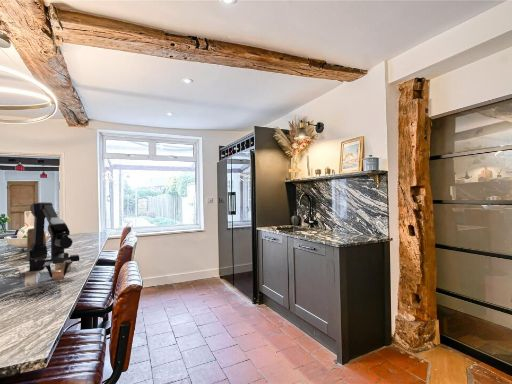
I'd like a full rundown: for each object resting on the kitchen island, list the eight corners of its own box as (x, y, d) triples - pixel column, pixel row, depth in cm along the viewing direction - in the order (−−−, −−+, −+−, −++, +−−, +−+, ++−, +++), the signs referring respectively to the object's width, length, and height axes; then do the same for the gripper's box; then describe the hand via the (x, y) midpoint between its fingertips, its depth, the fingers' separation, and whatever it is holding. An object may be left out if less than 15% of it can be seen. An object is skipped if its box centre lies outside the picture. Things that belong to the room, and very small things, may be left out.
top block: (56, 265, 157) (56, 258, 157) (56, 263, 161) (56, 256, 161) (69, 263, 160) (69, 256, 160) (68, 261, 165) (68, 254, 165)
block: (26, 257, 197) (26, 229, 197) (28, 255, 204) (27, 228, 204) (46, 255, 203) (45, 227, 203) (46, 253, 210) (46, 226, 210)
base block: (55, 273, 156) (55, 265, 156) (55, 270, 161) (55, 263, 161) (70, 270, 160) (70, 263, 160) (69, 268, 166) (69, 261, 166)
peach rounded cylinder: (52, 280, 143) (51, 273, 143) (51, 278, 147) (51, 270, 147) (64, 278, 147) (64, 271, 147) (63, 276, 151) (63, 269, 151)
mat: (49, 276, 152) (49, 275, 152) (48, 271, 162) (48, 270, 162) (77, 271, 160) (77, 271, 160) (75, 267, 170) (75, 266, 170)
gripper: (34, 251, 135) (35, 284, 135) (80, 246, 146) (80, 276, 146) (35, 248, 144) (35, 278, 144) (78, 243, 155) (78, 272, 155)
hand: (57, 276), depth 147 cm, fingers closed on peach rounded cylinder, 5 cm apart
